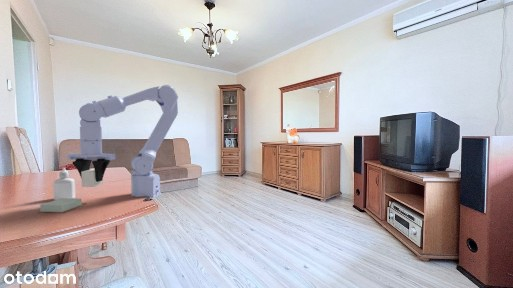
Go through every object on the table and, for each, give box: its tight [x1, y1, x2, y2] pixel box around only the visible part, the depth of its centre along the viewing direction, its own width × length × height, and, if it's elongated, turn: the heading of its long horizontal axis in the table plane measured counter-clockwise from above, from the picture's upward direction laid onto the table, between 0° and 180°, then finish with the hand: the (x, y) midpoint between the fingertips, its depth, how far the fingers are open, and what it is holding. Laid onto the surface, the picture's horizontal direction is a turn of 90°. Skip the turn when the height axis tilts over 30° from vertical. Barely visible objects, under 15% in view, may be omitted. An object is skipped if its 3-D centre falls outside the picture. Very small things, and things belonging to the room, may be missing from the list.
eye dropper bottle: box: [53, 167, 76, 201], centre depth 75 cm, size 4×6×12 cm
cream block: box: [81, 169, 104, 188], centre depth 72 cm, size 4×4×5 cm
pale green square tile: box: [36, 203, 87, 214], centre depth 65 cm, size 8×8×2 cm
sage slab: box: [39, 197, 83, 212], centre depth 65 cm, size 6×6×2 cm
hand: (92, 181), depth 72 cm, fingers closed on cream block, 4 cm apart
